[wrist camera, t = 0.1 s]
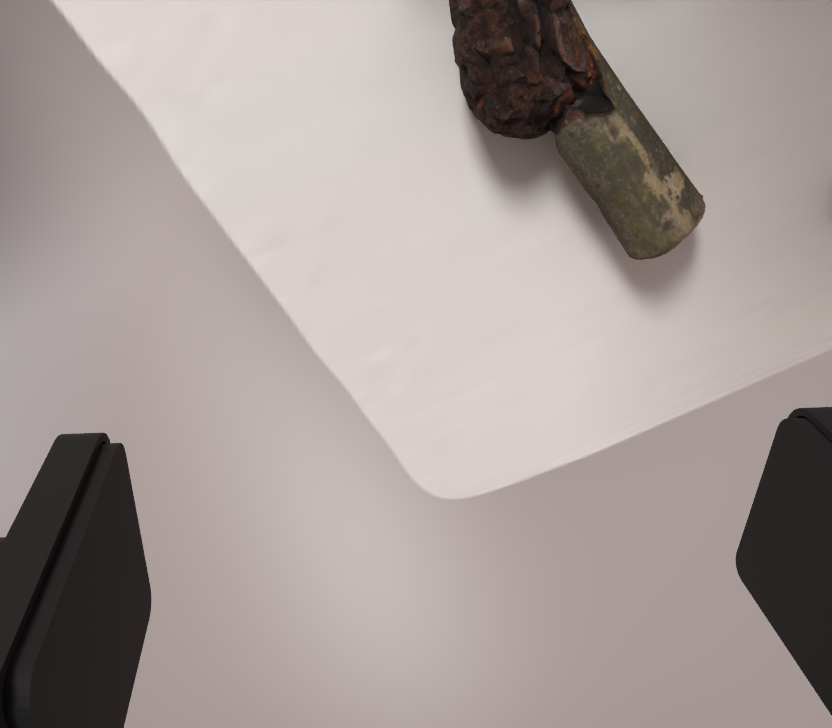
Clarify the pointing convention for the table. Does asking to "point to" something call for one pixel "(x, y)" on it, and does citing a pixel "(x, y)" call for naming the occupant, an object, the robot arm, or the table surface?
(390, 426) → the table surface
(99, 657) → the robot arm
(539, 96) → the dark elongated piece
